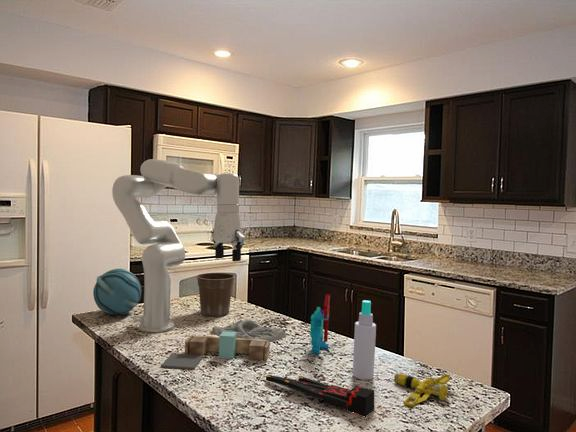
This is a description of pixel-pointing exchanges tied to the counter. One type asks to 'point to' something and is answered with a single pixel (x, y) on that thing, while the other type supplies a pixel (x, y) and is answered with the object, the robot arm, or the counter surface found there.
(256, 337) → the wall plaque
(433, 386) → the sprinkler
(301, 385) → the toy
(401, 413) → the counter surface
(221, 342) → the block
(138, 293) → the toy
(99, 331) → the counter surface
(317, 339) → the toy
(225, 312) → the object
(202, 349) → the rack
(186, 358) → the pad
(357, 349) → the spray bottle
